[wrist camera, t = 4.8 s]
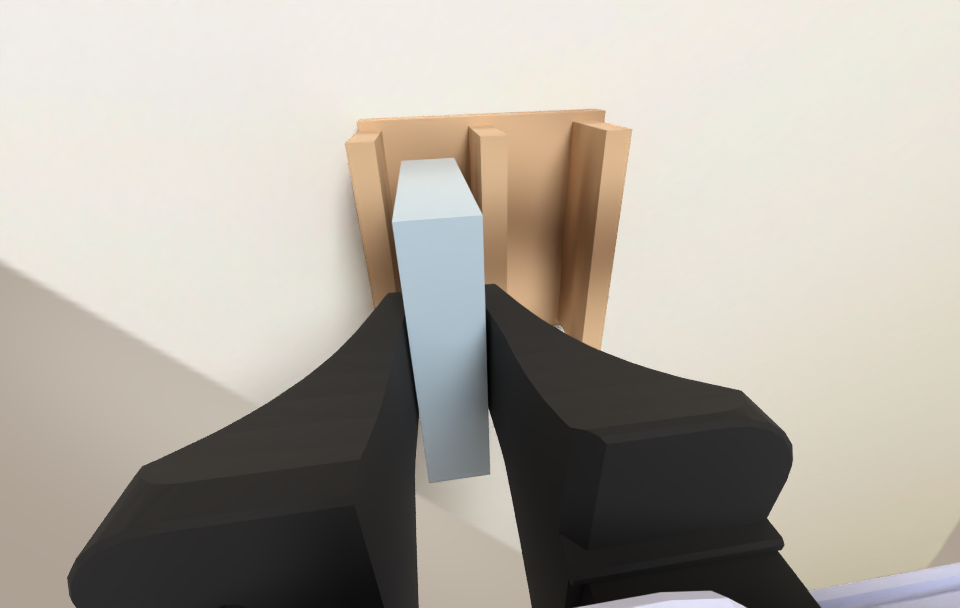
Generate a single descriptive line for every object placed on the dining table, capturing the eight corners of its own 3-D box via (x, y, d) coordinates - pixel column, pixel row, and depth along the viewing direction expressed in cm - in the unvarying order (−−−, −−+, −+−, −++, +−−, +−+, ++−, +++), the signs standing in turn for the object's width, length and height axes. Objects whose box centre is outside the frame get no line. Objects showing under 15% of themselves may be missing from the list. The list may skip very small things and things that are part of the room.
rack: (574, 311, 20) (608, 360, 16) (393, 329, 19) (388, 385, 15) (594, 109, 15) (646, 117, 12) (359, 119, 15) (342, 131, 11)
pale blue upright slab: (465, 344, 16) (489, 474, 11) (424, 349, 16) (429, 483, 10) (453, 157, 12) (482, 215, 7) (401, 160, 12) (391, 221, 7)
